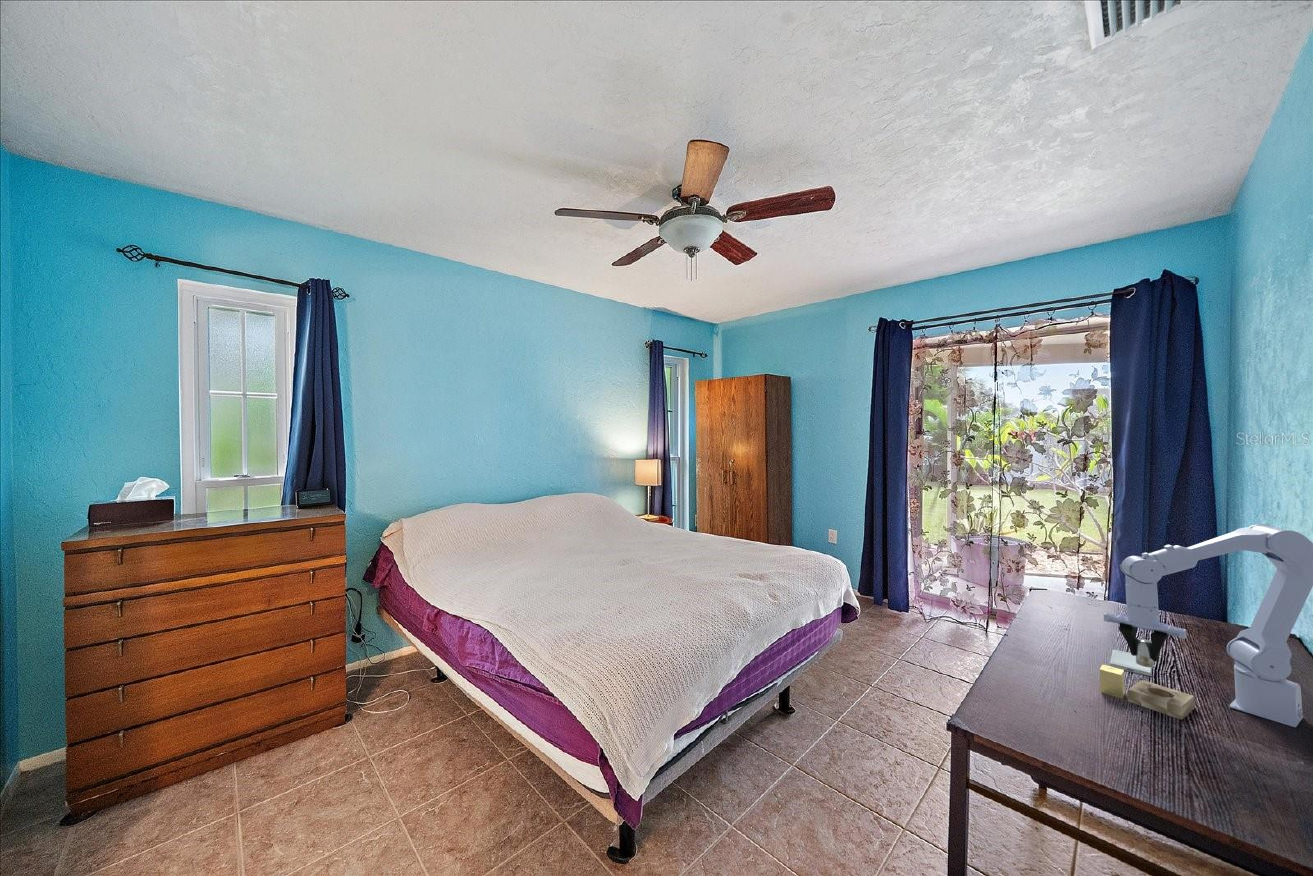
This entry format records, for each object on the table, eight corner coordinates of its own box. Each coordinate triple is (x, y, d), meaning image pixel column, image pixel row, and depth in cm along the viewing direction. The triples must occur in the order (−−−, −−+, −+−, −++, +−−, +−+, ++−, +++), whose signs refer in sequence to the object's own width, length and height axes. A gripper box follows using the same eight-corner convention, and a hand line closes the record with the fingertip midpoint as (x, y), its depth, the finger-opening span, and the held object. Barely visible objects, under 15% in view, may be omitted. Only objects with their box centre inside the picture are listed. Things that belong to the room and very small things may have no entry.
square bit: (1125, 693, 118) (1124, 670, 119) (1122, 699, 116) (1121, 675, 116) (1103, 687, 122) (1102, 664, 122) (1100, 692, 119) (1099, 669, 119)
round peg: (1155, 664, 118) (1154, 641, 118) (1152, 668, 116) (1151, 644, 116) (1137, 660, 121) (1136, 637, 121) (1134, 664, 119) (1133, 640, 119)
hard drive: (1112, 649, 141) (1109, 662, 132) (1151, 657, 134) (1151, 672, 126) (1112, 654, 141) (1109, 668, 132) (1152, 663, 134) (1151, 678, 126)
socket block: (1194, 708, 111) (1193, 695, 111) (1181, 720, 107) (1181, 707, 107) (1142, 691, 119) (1141, 679, 119) (1128, 701, 115) (1127, 689, 115)
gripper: (1187, 608, 115) (1190, 663, 114) (1108, 594, 127) (1110, 643, 127) (1181, 615, 111) (1184, 671, 111) (1100, 599, 123) (1102, 650, 123)
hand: (1144, 657), depth 118 cm, fingers closed on round peg, 3 cm apart
